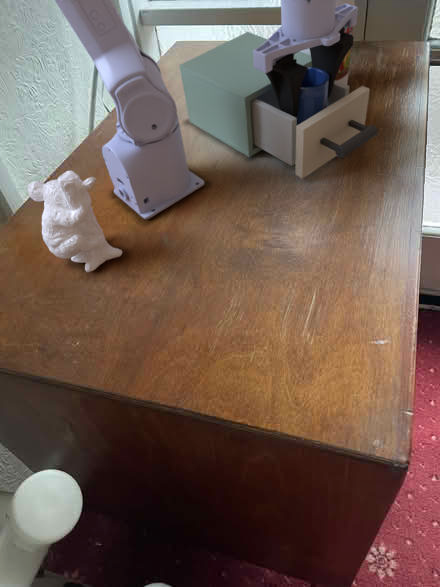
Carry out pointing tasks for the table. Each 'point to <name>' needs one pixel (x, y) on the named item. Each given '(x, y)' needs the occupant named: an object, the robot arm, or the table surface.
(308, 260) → the table surface
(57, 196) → the koala figurine
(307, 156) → the drawer
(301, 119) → the cup
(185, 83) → the mint green cabinet
